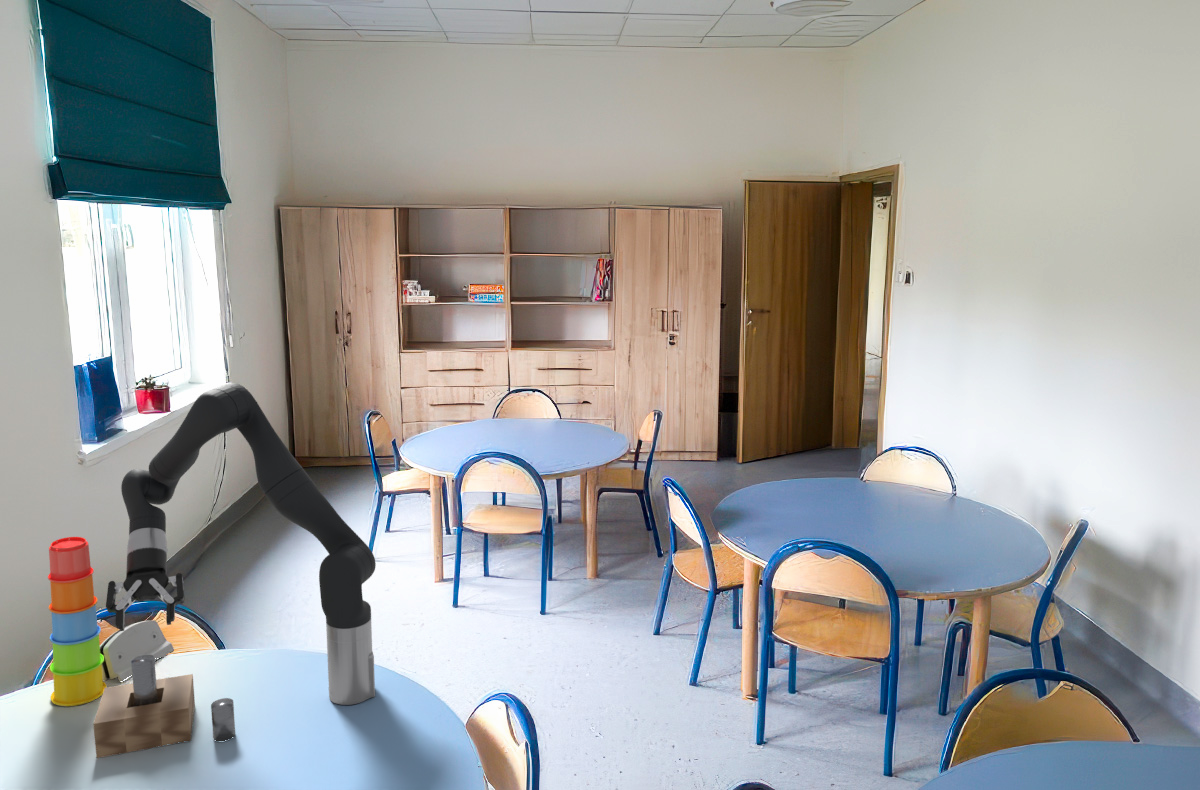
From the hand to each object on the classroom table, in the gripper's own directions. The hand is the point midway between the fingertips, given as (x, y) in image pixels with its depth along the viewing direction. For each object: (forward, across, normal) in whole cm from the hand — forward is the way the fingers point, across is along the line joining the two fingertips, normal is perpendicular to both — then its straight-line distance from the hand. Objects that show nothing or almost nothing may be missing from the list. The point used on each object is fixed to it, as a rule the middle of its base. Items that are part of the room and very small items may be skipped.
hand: (145, 626), depth 173 cm
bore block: (+19, 0, +7) cm, 20 cm away
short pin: (+24, +14, +2) cm, 28 cm away
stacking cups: (+5, -15, +21) cm, 26 cm away
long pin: (+19, 0, +7) cm, 20 cm away
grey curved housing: (-3, -6, +29) cm, 30 cm away
